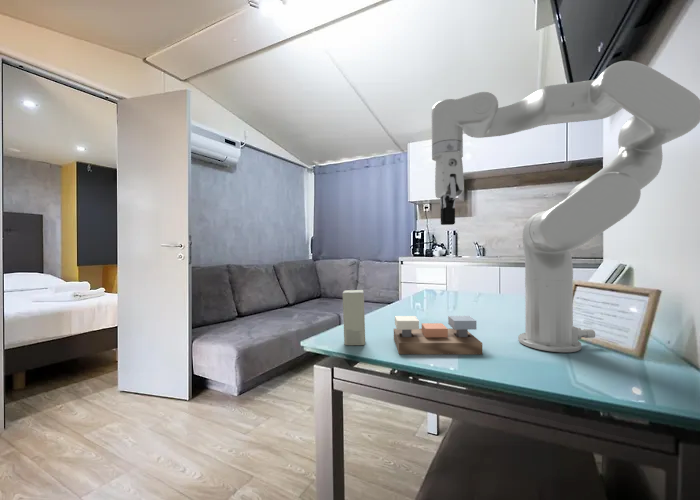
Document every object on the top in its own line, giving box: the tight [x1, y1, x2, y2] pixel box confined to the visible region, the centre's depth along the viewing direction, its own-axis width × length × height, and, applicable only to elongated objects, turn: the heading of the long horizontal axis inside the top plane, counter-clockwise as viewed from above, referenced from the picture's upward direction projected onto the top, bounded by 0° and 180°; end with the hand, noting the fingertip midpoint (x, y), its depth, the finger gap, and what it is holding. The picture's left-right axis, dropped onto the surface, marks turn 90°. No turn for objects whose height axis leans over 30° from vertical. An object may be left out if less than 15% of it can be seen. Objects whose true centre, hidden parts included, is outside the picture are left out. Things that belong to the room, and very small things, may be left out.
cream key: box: [394, 315, 420, 337], centre depth 75 cm, size 5×5×4 cm
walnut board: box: [393, 328, 483, 355], centre depth 75 cm, size 18×12×2 cm, turn 88°
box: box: [342, 289, 366, 346], centre depth 77 cm, size 5×4×13 cm
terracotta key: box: [421, 322, 449, 337], centre depth 75 cm, size 5×5×4 cm
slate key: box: [447, 315, 477, 337], centre depth 74 cm, size 5×5×4 cm
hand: (447, 224), depth 80 cm, fingers closed
